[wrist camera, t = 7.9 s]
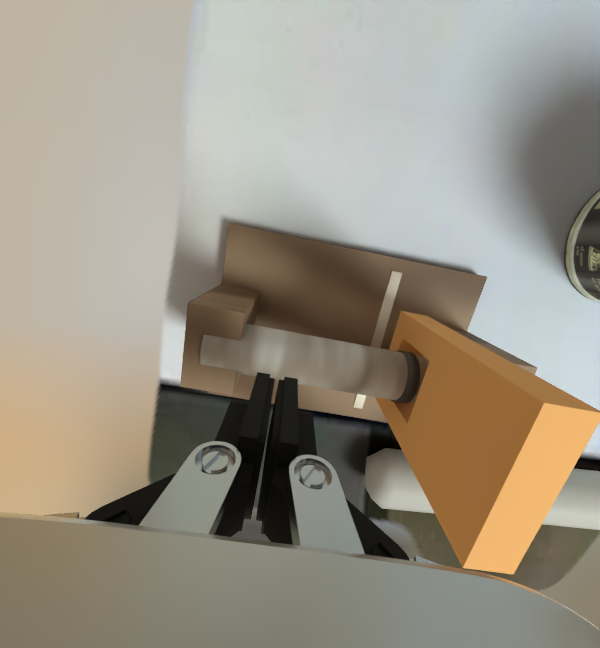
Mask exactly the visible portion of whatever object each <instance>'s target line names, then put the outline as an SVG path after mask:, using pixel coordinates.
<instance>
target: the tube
mask: <svg viewBox="0 0 600 648" xmlns="http://www.w3.org/2000/svg"><path fill="white" fill-rule="evenodd" d="M365 488H366V489H367V491H368V493H369V495H370V497H371V498H372V500H373V501H374V502H376V503H377V504H378V505H379V506H380V507H381V508H384V509H394V510H405V511H415V512H425V513H434V511H433V509H432V507H431V505H430V503H429V501H428V499H427V497H426V495H425V493H424V491H423V490H422V488H421V486H420V484H419V482H418V480H417V478H416V476H415V474H414V472H413V470H412V468H411V466H410V464H409V462H408V460H407V459H406V457H405V455H404V453H403V451H402V450H399V449H390V448H384V449H382V450H380V451H378V452H376V453H374V454H372V455H370V456H368V457H366V470H365ZM542 524H545V525H555V526H566V527H576V528H586V529H596V530H600V471H592V470H583V469H574V468H573V470H572V471H571V473H570V475H569V477H568V479H567V480H566V482H565V484H564V486H563V487H562V489H561V491H560V493H559V494H558V496H557V498H556V500H555V501H554V503H553V505H552V507H551V509H550V510H549V512H548V514H547V516H546V517H545V519H544V521H543V523H542Z"/></svg>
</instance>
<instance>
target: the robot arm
mask: <svg viewBox="0 0 600 648" xmlns="http://www.w3.org/2000/svg"><path fill="white" fill-rule="evenodd" d="M274 382H275V378H270V374H266V373H260V372H257V375H256V379H255V382H254V386H253V389H252V392H251V396H250V399H249V403H246V402H240V401H234V400H232V401H231V402H230V405H229V407H228V410H227V412H226V415H225V417H224V420H223V422H222V425H221V427H220V429H219V432H218V434H217V437H216V439H215V441H212V442H208V443H204V444H202V445H200V446H198V447H197V448H196V449H195V450H194V451H193V452H192V453H191V454H190V456H189V457H188V458H187V460H186V461H185V462H184V464H183V465H182V467H181V468H180V469H179V471H178V472H177V473H175V474H173V475H170V476H168V477H166V478H164V479H162V480H159V481H157V482H155V483H153V484H151V485H148V486H146V487H144V488H142V489H140V490H137V491H135V492H133V493H131V494H129V495H126V496H124V497H122V498H120V499H118V500H115V501H113V502H111V503H109V504H107V505H104V506H102V507H101V508H99V509H97V510H95V511H94V512H92V513H91V514H89V515H88V516H87V517H81V518H79V512H77V513H64V514H51V515H32V514H18V513H0V648H600V630H599V629H598V628H597V627H596V626H595V625H593V624H592V623H591V622H589V621H588V620H586V619H585V618H583V617H582V616H580V615H579V614H577V613H576V612H574V611H573V610H571V609H569V608H568V607H566V606H564V605H563V604H561V603H559V602H557V601H555V600H553V599H551V598H549V597H547V596H545V595H543V594H541V593H539V592H537V591H535V590H533V589H531V588H528V587H525V586H523V585H520V584H517V583H515V582H512V581H510V580H506V579H503V578H499V577H495V576H492V575H488V574H485V573H480V572H475V571H469V570H464V569H459V568H454V567H448V566H442V565H440V564H437V563H434V562H431V561H429V560H426V559H423V558H421V557H418V556H415V558H414V560H412V559H409V558H408V556H407V554H406V553H405V552H404V551H403V550H402V549H401V547H399V545H398V544H396V543H395V542H394V541H393V540H392V539H391V538H390V537H388V536H387V535H386V534H385V533H384V532H383V531H382V530H381V529H380V528H378V527H377V526H376V525H375V524H374V523H373V522H372V521H371V520H369V519H368V518H367V517H366V516H365V515H364V514H363V513H361V512H360V511H359V510H358V509H357V508H356V507H355V506H354V505H352V504H351V503H350V502H349V501H348V500H347V499H346V498H345V496H344V493H343V490H342V488H341V485H340V482H339V479H338V476H337V473H336V472H335V470H334V468H333V467H332V466H331V465H330V463H329V462H327V461H326V460H324V459H323V458H320V457H318V456H317V452H316V442H315V432H314V422H313V414H312V413H308V412H302V411H298V379H296V378H290V377H284V380H281V379H279V382H278V387H277V392H276V397H275V403H274V408H273V413H272V418H271V424H270V429H269V434H268V440H267V447H266V454H265V461H264V468H263V475H262V482H261V489H260V496H259V503H258V510H257V517H256V520H258V521H262V529H261V534H265V535H266V536H267V537H268V539H270V541H271V542H267V541H266V542H265V541H259V540H251V539H242V538H235V537H231V536H233V535H234V534H235V533H237V532H238V531H242V526H243V521H244V519H251V515H252V510H253V505H254V499H255V494H256V489H257V484H258V478H259V473H260V468H261V462H262V457H263V452H264V446H265V441H266V435H267V428H268V421H269V415H270V408H271V401H272V395H273V388H274Z"/></svg>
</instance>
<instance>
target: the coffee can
mask: <svg viewBox="0 0 600 648" xmlns="http://www.w3.org/2000/svg"><path fill="white" fill-rule="evenodd" d="M565 261H566V267H567V272H568V275H569V277H570V280H571V282H572V283H573V285H574V286H575V287H576V289H577V290H578V291H579V292H580V293H582V294H583V295H584V296H586V297H587V298H589V299H592V300H594V301H598V302H600V191H598V192H597V193H596V194H595V195H594V196H593V197H592V198H591V199H590V200H589V202H588V203H587V204H586V205H585V206H584V207H583V209H582V210H581V212H580V214H579V216H578V217H577V219H576V220H575V222H574V224H573V227H572V229H571V231H570V234H569V237H568V241H567V245H566V256H565Z"/></svg>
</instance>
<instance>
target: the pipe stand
mask: <svg viewBox="0 0 600 648" xmlns="http://www.w3.org/2000/svg"><path fill="white" fill-rule="evenodd" d="M486 279H487V277H485V276H481V275H476V274H471V273H466V272H461V271H457V270H452V269H447V268H442V267H437V266H433V265H428V264H423V263H418V262H413V261H409V260H404V259H399V258H394V257H389V256H385V255H380V254H375V253H370V252H366V251H361V250H356V249H351V248H346V247H342V246H337V245H332V244H327V243H322V242H318V241H313V240H308V239H303V238H298V237H294V236H289V235H284V234H279V233H274V232H270V231H265V230H260V229H255V228H250V227H246V226H241V225H236V224H231V223H229V226H228V235H227V243H226V251H225V259H224V267H223V275H222V284H221V285H219V286H217V287H215V288H213V289H212V290H210V291H208V292H206V293H205V294H203V295H201V296H199V297H197V298H196V299H194V300H192V301H190V302H188V309H187V320H186V331H185V342H184V352H183V363H182V374H181V385H180V387H186V388H192V389H199V390H205V391H208V393H212V394H218V395H224V396H230V397H236V398H242V399H248V400H249V399H250V396H251V392H252V389H253V386H254V382H255V379H256V375H257V372H260V373H266V374H270V378H275V382H274V388H273V395H272V401H271V403H272V404H274V403H275V397H276V392H277V387H278V382H279V379H281V380H284V377H290V378H296V379H298V408H303V409H309V410H315V411H321V412H327V413H333V414H339V415H345V416H351V417H357V418H363V419H369V420H375V421H381V422H387V420H386V418H385V416H384V414H383V412H382V410H381V408H380V406H379V404H378V402H377V400H376V398H375V397H378V398H384V399H390V400H391V401H392V402H397V403H403V404H407V403H413V404H415V401H416V398H417V396H418V393H419V390H420V387H421V384H422V381H423V378H424V376H425V373H426V370H427V367H428V364H429V360H428V359H427V358H426V357H424V356H419V355H415V354H414V353H412V352H406V351H401V350H398V351H392V350H389V348H390V345H391V341H392V338H393V335H394V332H395V328H396V325H397V322H398V318H399V315H400V312H401V311H405V312H410V313H415V314H420V315H425V316H429V317H430V318H432V319H434V320H436V321H438V322H439V323H441V324H443V325H445V326H447V327H449V328H450V329H452V330H454V331H456V332H458V333H459V334H461V335H463V336H465V337H467V338H468V339H470V340H472V341H474V342H476V343H477V344H479V345H481V346H483V347H485V348H487V349H488V350H490V351H492V352H494V353H496V354H497V355H499V356H501V357H503V358H505V359H506V360H508V361H510V362H512V363H514V364H515V365H517V366H519V367H521V368H523V369H525V370H526V371H528V372H530V373H532V374H534V375H535V372H536V370H537V368H536V367H534V366H533V365H531V364H529V363H527V362H525V361H523V360H521V359H519V358H517V357H515V356H513V355H511V354H509V353H507V352H505V351H504V350H502V349H500V348H498V347H496V346H494V345H492V344H490V343H488V342H486V341H484V340H482V339H480V338H478V337H476V336H475V335H473V334H471V333H469V332H467V329H468V326H469V324H470V321H471V318H472V316H473V313H474V311H475V308H476V305H477V303H478V300H479V297H480V295H481V292H482V289H483V287H484V284H485V282H486ZM387 423H388V422H387Z"/></svg>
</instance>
